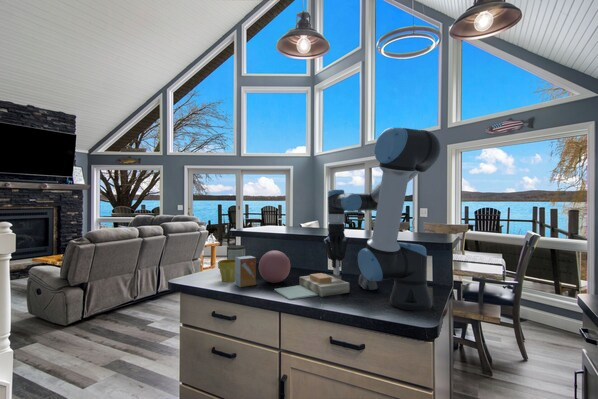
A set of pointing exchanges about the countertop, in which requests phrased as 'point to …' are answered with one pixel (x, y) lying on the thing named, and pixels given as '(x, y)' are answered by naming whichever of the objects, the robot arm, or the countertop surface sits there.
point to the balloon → (274, 266)
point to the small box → (245, 271)
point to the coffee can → (235, 251)
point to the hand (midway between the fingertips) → (336, 274)
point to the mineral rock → (367, 283)
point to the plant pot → (227, 270)
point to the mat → (295, 292)
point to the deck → (325, 286)
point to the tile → (320, 278)
